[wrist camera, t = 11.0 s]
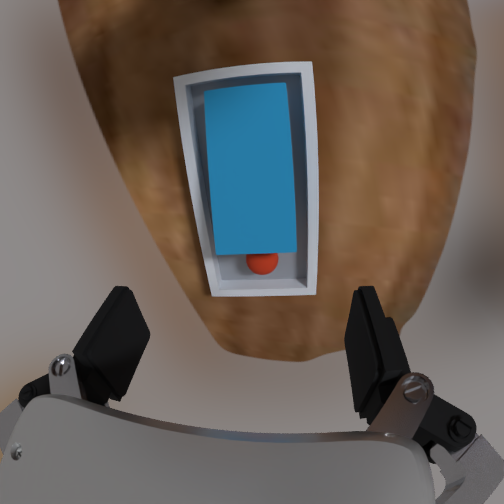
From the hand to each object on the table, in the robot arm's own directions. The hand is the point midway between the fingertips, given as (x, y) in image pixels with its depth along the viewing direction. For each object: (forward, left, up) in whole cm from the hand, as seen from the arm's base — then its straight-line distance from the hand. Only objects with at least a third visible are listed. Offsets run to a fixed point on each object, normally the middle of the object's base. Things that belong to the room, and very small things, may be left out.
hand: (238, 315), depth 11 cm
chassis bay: (+1, -1, -19) cm, 19 cm away
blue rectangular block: (0, -1, -18) cm, 18 cm away
